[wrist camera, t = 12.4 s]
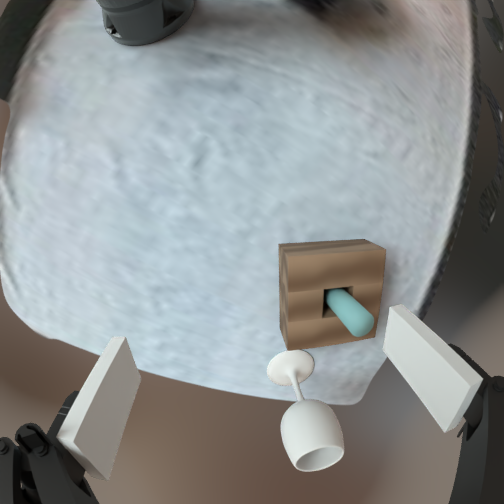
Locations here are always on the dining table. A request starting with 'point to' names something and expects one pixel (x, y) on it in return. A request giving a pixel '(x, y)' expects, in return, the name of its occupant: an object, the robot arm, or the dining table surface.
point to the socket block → (326, 277)
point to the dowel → (349, 311)
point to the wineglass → (306, 416)
